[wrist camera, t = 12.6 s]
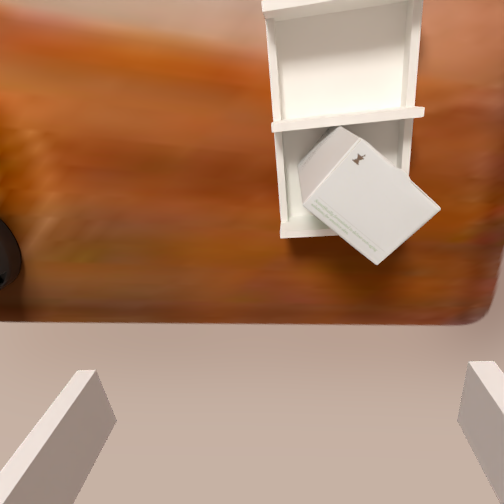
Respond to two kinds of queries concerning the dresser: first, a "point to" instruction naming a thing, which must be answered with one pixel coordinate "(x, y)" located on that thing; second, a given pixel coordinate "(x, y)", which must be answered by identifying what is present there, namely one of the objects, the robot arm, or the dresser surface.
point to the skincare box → (361, 194)
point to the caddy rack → (339, 85)
